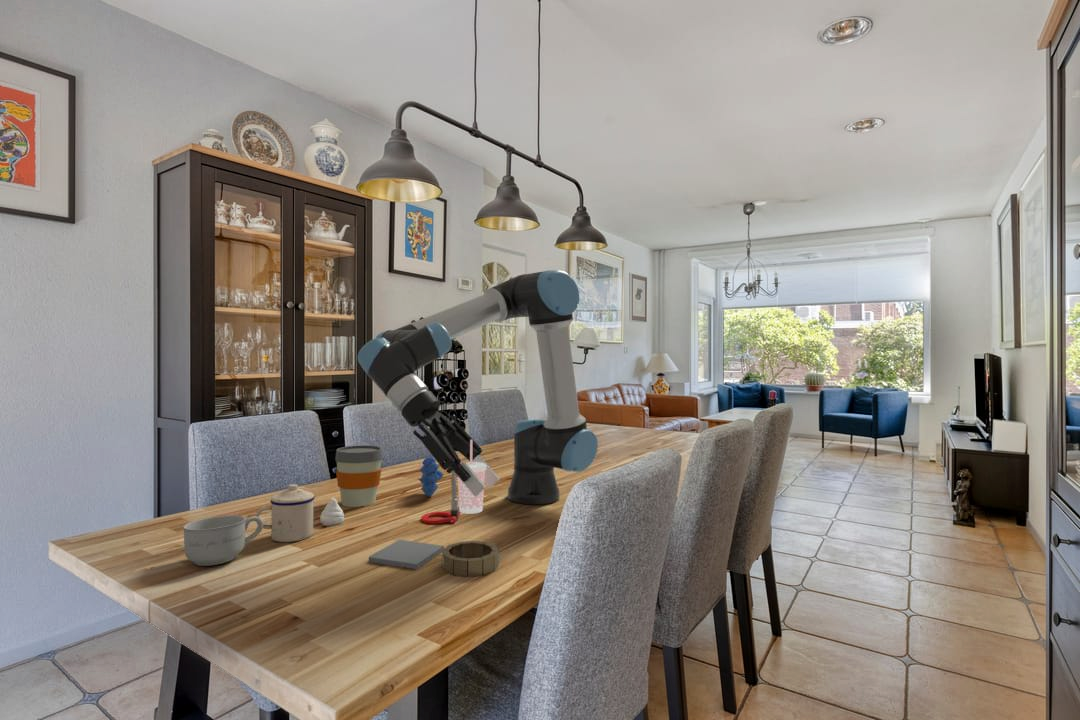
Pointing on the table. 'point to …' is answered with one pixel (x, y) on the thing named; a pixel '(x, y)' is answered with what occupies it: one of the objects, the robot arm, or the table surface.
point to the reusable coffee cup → (358, 474)
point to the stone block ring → (479, 565)
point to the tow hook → (451, 515)
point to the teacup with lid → (290, 515)
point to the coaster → (406, 554)
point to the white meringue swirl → (332, 514)
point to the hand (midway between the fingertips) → (487, 487)
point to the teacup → (217, 538)
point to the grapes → (430, 475)
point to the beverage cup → (466, 498)
